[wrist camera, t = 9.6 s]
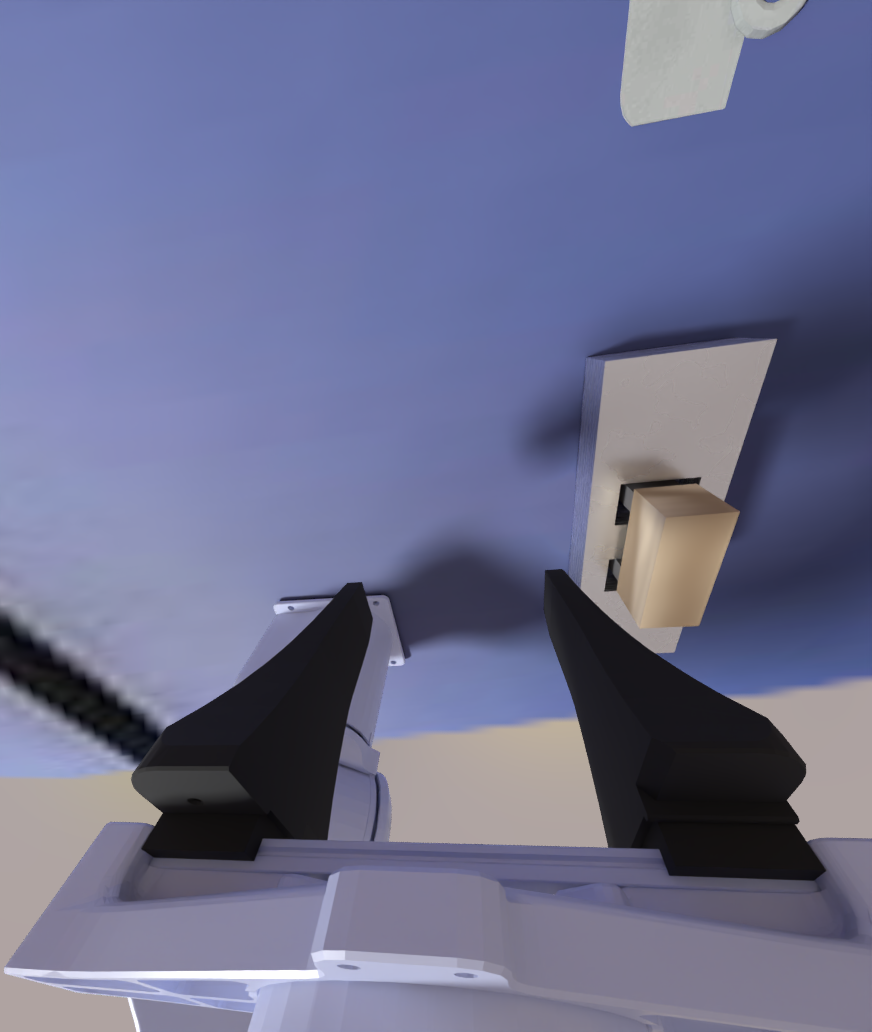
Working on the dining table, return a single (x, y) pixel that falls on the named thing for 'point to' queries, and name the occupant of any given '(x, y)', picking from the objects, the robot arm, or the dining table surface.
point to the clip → (671, 551)
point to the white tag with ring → (689, 53)
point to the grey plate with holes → (656, 447)
